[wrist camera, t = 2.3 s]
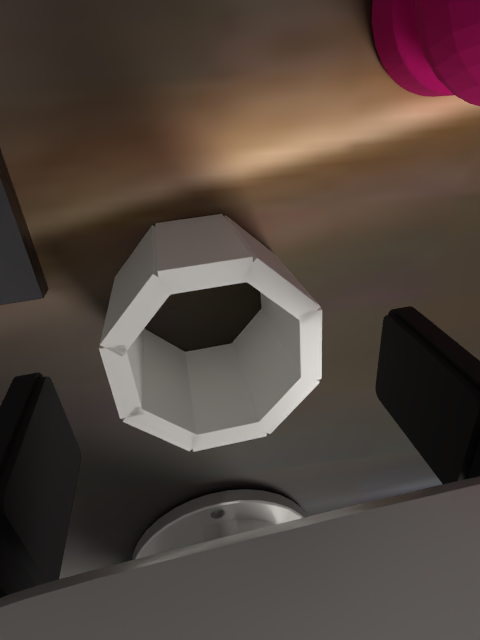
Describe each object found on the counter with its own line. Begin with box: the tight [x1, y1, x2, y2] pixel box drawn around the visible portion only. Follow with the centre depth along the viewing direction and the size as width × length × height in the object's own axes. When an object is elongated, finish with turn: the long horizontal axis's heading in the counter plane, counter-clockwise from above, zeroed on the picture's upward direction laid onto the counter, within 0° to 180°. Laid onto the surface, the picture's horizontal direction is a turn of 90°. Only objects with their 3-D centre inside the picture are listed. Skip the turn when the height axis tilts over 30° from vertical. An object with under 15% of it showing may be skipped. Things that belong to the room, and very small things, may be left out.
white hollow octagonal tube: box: [99, 214, 322, 452], centre depth 16 cm, size 7×7×6 cm
